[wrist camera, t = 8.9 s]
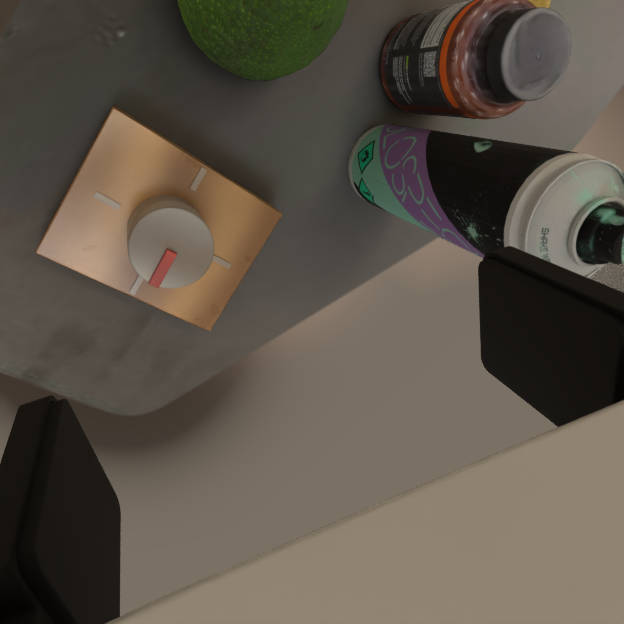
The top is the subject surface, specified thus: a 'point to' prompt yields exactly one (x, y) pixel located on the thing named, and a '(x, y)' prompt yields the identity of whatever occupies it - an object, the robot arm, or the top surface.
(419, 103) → the supplement bottle
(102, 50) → the top surface
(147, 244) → the knob
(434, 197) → the spray can
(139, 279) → the dial panel
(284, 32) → the fruit
